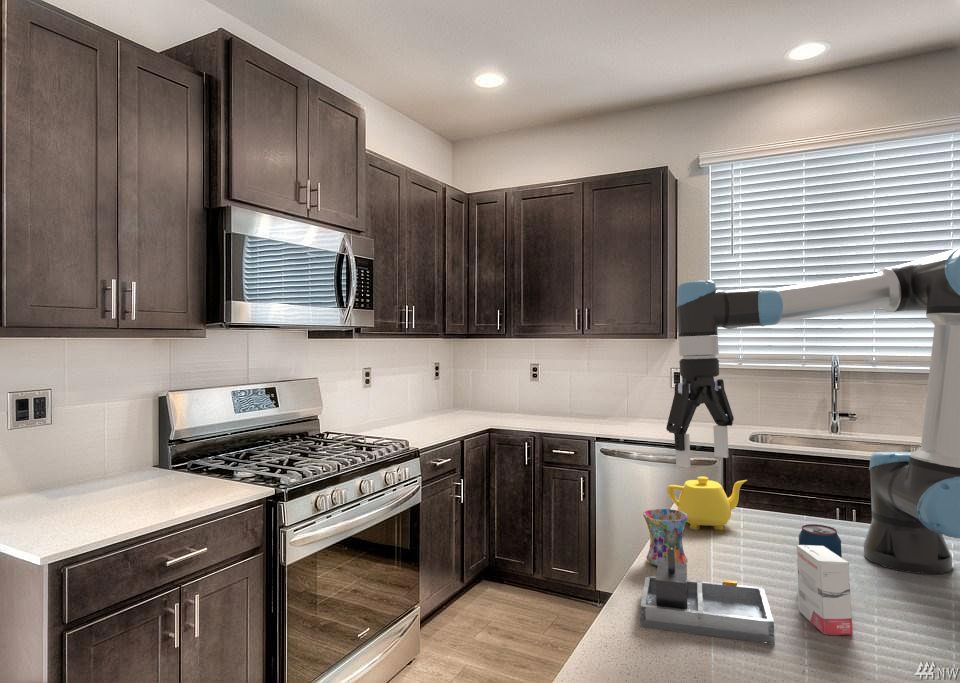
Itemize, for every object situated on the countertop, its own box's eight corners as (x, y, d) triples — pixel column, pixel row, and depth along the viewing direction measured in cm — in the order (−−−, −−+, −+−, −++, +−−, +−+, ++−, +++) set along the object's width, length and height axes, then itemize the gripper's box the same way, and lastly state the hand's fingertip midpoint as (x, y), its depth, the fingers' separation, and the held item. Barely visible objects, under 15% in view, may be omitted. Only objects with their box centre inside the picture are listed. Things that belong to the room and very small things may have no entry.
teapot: (755, 534, 142) (753, 483, 142) (671, 531, 146) (669, 482, 146) (741, 518, 155) (739, 472, 156) (664, 516, 159) (662, 471, 159)
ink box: (854, 635, 92) (851, 562, 93) (822, 635, 93) (819, 562, 93) (826, 611, 101) (823, 543, 101) (797, 611, 101) (794, 543, 102)
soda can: (792, 589, 110) (789, 526, 110) (817, 582, 113) (814, 521, 113) (826, 603, 104) (823, 536, 104) (851, 595, 107) (849, 531, 107)
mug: (688, 573, 119) (686, 522, 119) (642, 568, 123) (640, 518, 123) (691, 554, 130) (689, 507, 130) (648, 549, 134) (647, 503, 134)
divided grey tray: (764, 605, 104) (761, 542, 104) (774, 644, 91) (772, 571, 91) (646, 592, 111) (644, 533, 111) (640, 626, 98) (638, 559, 98)
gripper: (715, 355, 128) (719, 451, 127) (645, 360, 113) (649, 468, 113) (748, 354, 122) (752, 455, 121) (678, 359, 107) (683, 474, 107)
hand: (703, 461), depth 117 cm, fingers open, 13 cm apart
